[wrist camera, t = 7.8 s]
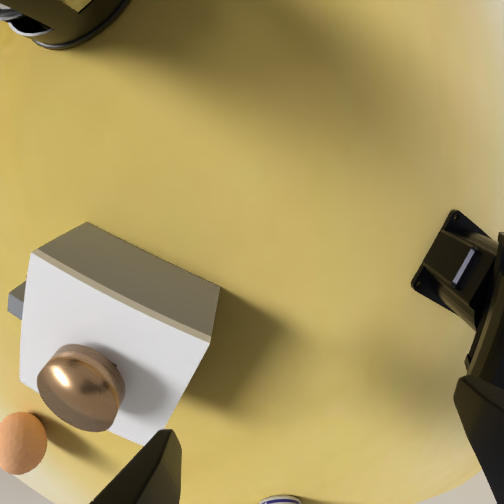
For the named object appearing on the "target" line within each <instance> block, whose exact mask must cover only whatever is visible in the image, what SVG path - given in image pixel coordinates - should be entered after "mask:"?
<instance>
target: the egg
mask: <svg viewBox="0 0 504 504" xmlns="http://www.w3.org/2000/svg"><path fill="white" fill-rule="evenodd" d="M46 448H47V435H46V432H45V429H44V427H43V424H42V423H41V422H40V420H39V419H38V418H37V417H35V416H34V415H32V414H30V413H26V412H17V413H12V414H10V415H8V416H7V417H6V418H4V419H3V421H2V422H1V423H0V467H1V468H2V469H3V470H4V471H6V472H8V473H10V474H15V475H20V474H24V473H27V472H29V471H31V470H32V469H34V468H35V467H36V466H37V465H38V464H39V463H40V462H41V460H42V459H43V457H44V455H45V452H46Z"/></svg>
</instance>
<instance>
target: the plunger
mask: <svg viewBox="0 0 504 504" xmlns="http://www.w3.org/2000/svg"><path fill="white" fill-rule="evenodd" d="M37 388H38V391H39V393H40V396H41V397H42V399H43V401H44V402H45V404H46V405H47V406H48V407H49V409H50V410H51V411H52V412H53V413H54V414H56V415H57V416H58V417H59V418H60V419H62V420H63V421H65V422H66V423H68V424H70V425H72V426H74V427H76V428H78V429H81V430H85V431H90V432H101V431H105V430H107V429H109V428H110V427H111V426H112V424H113V422H114V420H115V417H116V415H117V413H118V410H119V408H120V406H121V403H122V401H123V399H124V397H125V392H126V388H125V383H124V380H123V378H122V376H121V374H120V372H119V371H118V369H117V368H116V367H115V366H114V364H113V363H112V362H111V361H110V360H108V359H107V358H106V357H105V356H103V355H102V354H101V353H99V352H97V351H96V350H94V349H92V348H90V347H87V346H84V345H80V344H66V345H63V346H61V347H60V348H59V349H58V350H57V351H56V352H55V353H54V355H53V356H52V357H51V358H50V360H49V361H48V362H47V363H46V365H45V366H44V367H43V368H42V370H41V371H40V372H39V374H38V376H37Z"/></svg>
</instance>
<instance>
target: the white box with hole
mask: <svg viewBox="0 0 504 504" xmlns="http://www.w3.org/2000/svg"><path fill="white" fill-rule="evenodd" d="M219 292H220V286H218V285H215V284H213V283H211V282H209V281H207V280H205V279H202V278H200V277H198V276H196V275H194V274H192V273H190V272H187V271H185V270H183V269H181V268H179V267H177V266H175V265H173V264H171V263H168V262H166V261H164V260H162V259H160V258H158V257H156V256H154V255H152V254H150V253H148V252H146V251H144V250H142V249H140V248H137V247H135V246H133V245H131V244H129V243H127V242H125V241H123V240H121V239H119V238H117V237H115V236H113V235H111V234H109V233H107V232H105V231H103V230H102V229H100V228H98V227H96V226H94V225H92V224H90V223H88V222H86V223H84V224H82V225H80V226H78V227H76V228H74V229H72V230H70V231H69V232H67V233H65V234H63V235H61V236H59V237H57V238H56V239H54V240H52V241H50V242H48V243H47V244H45V245H43V246H41V247H40V248H38V249H36V250H34V251H33V252H31V256H30V261H29V267H28V274H27V280H26V281H25V282H23V283H22V284H21V285H19V286H18V287H16V288H15V289H14V290H12V291H11V292H10V293H9V299H8V311H9V312H10V313H12V314H13V315H15V316H16V317H18V318H19V319H21V320H22V327H21V343H20V382H22V383H24V384H25V385H27V386H28V387H30V388H31V389H33V390H34V391H36V392H38V393H39V391H38V388H37V376H38V374H39V372H40V371H41V370H42V368H43V367H44V366H45V365H46V363H47V362H48V361H49V360H50V358H51V357H52V356H53V355H54V353H55V352H56V351H57V350H58V349H59V348H60V347H61V346H63V345H66V344H80V345H84V346H87V347H90V348H92V349H94V350H96V351H97V352H99V353H101V354H102V355H103V356H105V357H106V358H107V359H108V360H110V361H111V362H112V363H113V364H114V366H115V367H116V368H117V369H118V371H119V372H120V374H121V376H122V378H123V380H124V383H125V388H126V392H125V397H124V399H123V401H122V403H121V406H120V408H119V410H118V413H117V415H116V417H115V420H114V422H113V424H112V426H111V427H110V428H109V429H107V430H108V431H110V432H112V433H114V434H117V435H119V436H121V437H123V438H126V439H128V440H130V441H133V442H135V443H138V444H140V445H142V446H145V445H146V443H147V442H148V441H149V440H150V439H151V438H152V437H153V436H154V435H155V434H156V432H157V431H158V430H160V429H164V427H165V426H166V424H167V422H168V420H169V418H170V416H171V415H172V413H173V411H174V409H175V407H176V405H177V404H178V402H179V400H180V398H181V396H182V394H183V393H184V391H185V389H186V387H187V385H188V383H189V382H190V380H191V378H192V376H193V374H194V372H195V370H196V369H197V367H198V365H199V363H200V361H201V359H202V358H203V356H204V354H205V352H206V350H207V348H208V346H209V345H210V341H211V336H212V330H213V325H214V319H215V314H216V308H217V303H218V297H219ZM39 394H40V393H39Z"/></svg>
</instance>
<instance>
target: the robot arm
mask: <svg viewBox="0 0 504 504" xmlns="http://www.w3.org/2000/svg"><path fill="white" fill-rule="evenodd" d="M455 215H456V216H457V217H456V219H455V220H454V216H455ZM498 242H499V243H498ZM498 242H496V241H494V240H492V239H491V238H490V237H489V236H488V235H487V234H486V233H484V232H483V231H482V230H481V229H480V228H479V227H478V226H477V225H475V224H474V223H473V222H472V221H471V220H470V219H468V218H467V217H466V216H465V215H464V214H462V213H461V212H460V211H458V210H455V209H454V210H452V211H451V212H450V213H449V215H448V217H447V219H446V221H445V223H444V225H443V227H442V228H441V230H440V232H439V233H438V235H437V237H436V239H435V241H434V242H433V244H432V246H431V248H430V250H429V251H428V253H427V255H426V257H425V258H424V260H423V262H422V264H421V266H420V268H419V269H418V271H417V273H416V274H415V276H414V278H413V279H412V281H411V287H412V288H413V289H414V290H415V291H417V292H418V293H420V294H422V295H424V296H425V297H427V298H429V299H431V300H432V301H434V302H436V303H438V304H439V305H441V306H443V307H445V308H446V309H448V310H450V311H451V312H453V313H455V314H457V315H458V316H460V317H461V318H462V319H463V320H464V321H465V322H466V323H467V324H468V325H469V326H470V327H471V328H472V329H474V330H475V331H476V335H475V338H474V340H473V343H472V346H471V349H470V352H469V354H467V356H466V359H465V361H464V363H465V366H466V369H467V375H466V376H463V377H461V378H459V380H458V382H457V386H456V389H455V392H454V397H453V398H454V403H455V406H456V408H457V411H458V414H459V416H460V419H461V422H462V424H463V427H464V430H465V433H466V435H467V438H468V440H469V442H470V444H471V446H472V448H473V450H474V452H475V454H476V456H477V459H478V461H479V463H480V465H481V467H482V469H483V472H484V474H485V476H486V478H487V480H488V483H489V485H490V487H491V490H492V492H493V494H494V497H495V499H496V501H497V504H504V232H499V235H498ZM419 281H420V283H419V285H417V286H416V284H417V283H418V282H419ZM181 458H182V449H181V445H180V443H179V441H178V439H177V436H176V434H175V432H174V431H173V430H172V429H160V430H158V431H157V432H156V434H155V435H154V436H153V437H152V438H151V439H150V440H149V441H148V442H147V443H146V445H145V446H144V447H143V448H142V449H141V450H140V451H139V452H138V453H137V454H136V455H135V456H134V458H133V459H132V460H131V461H130V462H129V463H128V464H127V465H126V466H125V467H124V468H123V469H122V470H121V471H120V472H119V474H118V475H117V476H116V477H115V478H114V479H113V480H112V481H111V482H110V483H109V484H108V485H107V486H106V487H105V488H104V489H103V490H102V491H101V492H100V493H99V494H98V495H97V496H96V497H95V498H94V501H91V502H90V503H89V504H179V500H180V492H181Z"/></svg>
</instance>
